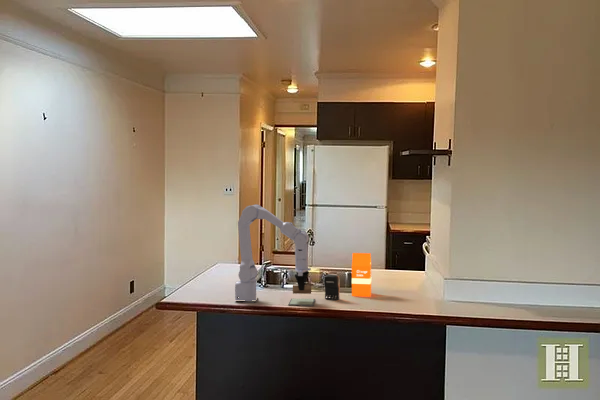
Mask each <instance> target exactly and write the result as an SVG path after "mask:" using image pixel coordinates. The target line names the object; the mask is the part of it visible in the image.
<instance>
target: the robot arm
mask: <svg viewBox="0 0 600 400" xmlns="http://www.w3.org/2000/svg"><path fill="white" fill-rule="evenodd" d="M256 220H265V221H268V222H269V223H270V224H272V225H274V226H276V227H277V228H278V229H279V230H280V233H281V234H282V235H284V236H285V237H287V238H288V239H290V240H291V241H293V243H294V244H295V245H294V247H295V249H294V258H295V259H294V260H295V262H294V264H295V267H294V271H295V272H296V274H294V277H295V280H296V284H298V288H299V290H304V287H305V284H307V279H308V276H309V273H310V271H312V269H311V268H310V267H309V246H308V245H309V244H308V242H309V240H310V236H309V234H308V232H306V231H304V230H302V229H301V228H298V227H296V226H295V225H294V223H293V222H291V221H290V222H289V221H285V222H284V221H283V220H282V219H280V218H279V217H278V216H276V215H274V214H273V213H272V212H271V211H269V210H268V209H266V208H265V207H262V206H261V205H260V204H258V203H257V204H252V205H246V206H245V208H243V210H242V211H241V215H240V216H239V219H238V221H237V228H238V238H239V239H238V240H239V250H240V251H239V252H240V265H239V272H238V278H239V280H237V281H236V282H235V286H234V291H235V292H234V295H235V296H234V298H235V299H234V300H245V301H252V300H256V297H257V279H256V276H257V275H258V268H257V267H256V265H255V263H256V262H255V261H254V259H253V250H252V239H251V227H250V226H251V225H252V224H253V222H254V221H256ZM238 297H239V298H238Z"/></svg>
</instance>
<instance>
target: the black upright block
mask: <svg viewBox="0 0 600 400" xmlns="http://www.w3.org/2000/svg"><path fill="white" fill-rule="evenodd" d="M340 284H341V282H340V276H339V275H337V274H330V273H329V274H326V275H324V277H323V286H324V291H325V292H324V299H325V300H327V301H328V300H329V301H338V300H340V289H341V287H340Z"/></svg>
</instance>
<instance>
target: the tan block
mask: <svg viewBox="0 0 600 400" xmlns="http://www.w3.org/2000/svg"><path fill="white" fill-rule="evenodd" d="M292 294H293V295H294V294H296V295H297V294H299V295H302V294H307V295H310V294H312V283H306V284H305V287H304V290H299V288H298V283H293V285H292Z"/></svg>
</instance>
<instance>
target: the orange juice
mask: <svg viewBox="0 0 600 400" xmlns="http://www.w3.org/2000/svg"><path fill="white" fill-rule="evenodd" d="M351 259H352V260H351V297H363V298H365V297H366V298H367V297H368V298H371V296H372V254H371V252H368V253H367V252H352V258H351Z"/></svg>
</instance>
